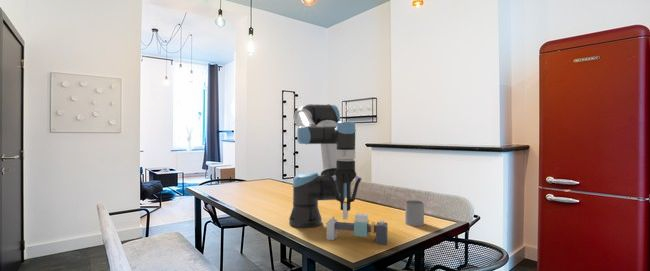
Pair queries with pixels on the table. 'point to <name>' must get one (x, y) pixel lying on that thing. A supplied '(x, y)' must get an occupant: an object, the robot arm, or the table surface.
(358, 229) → the sleeve
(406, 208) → the cup
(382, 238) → the slider rail
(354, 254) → the table surface
